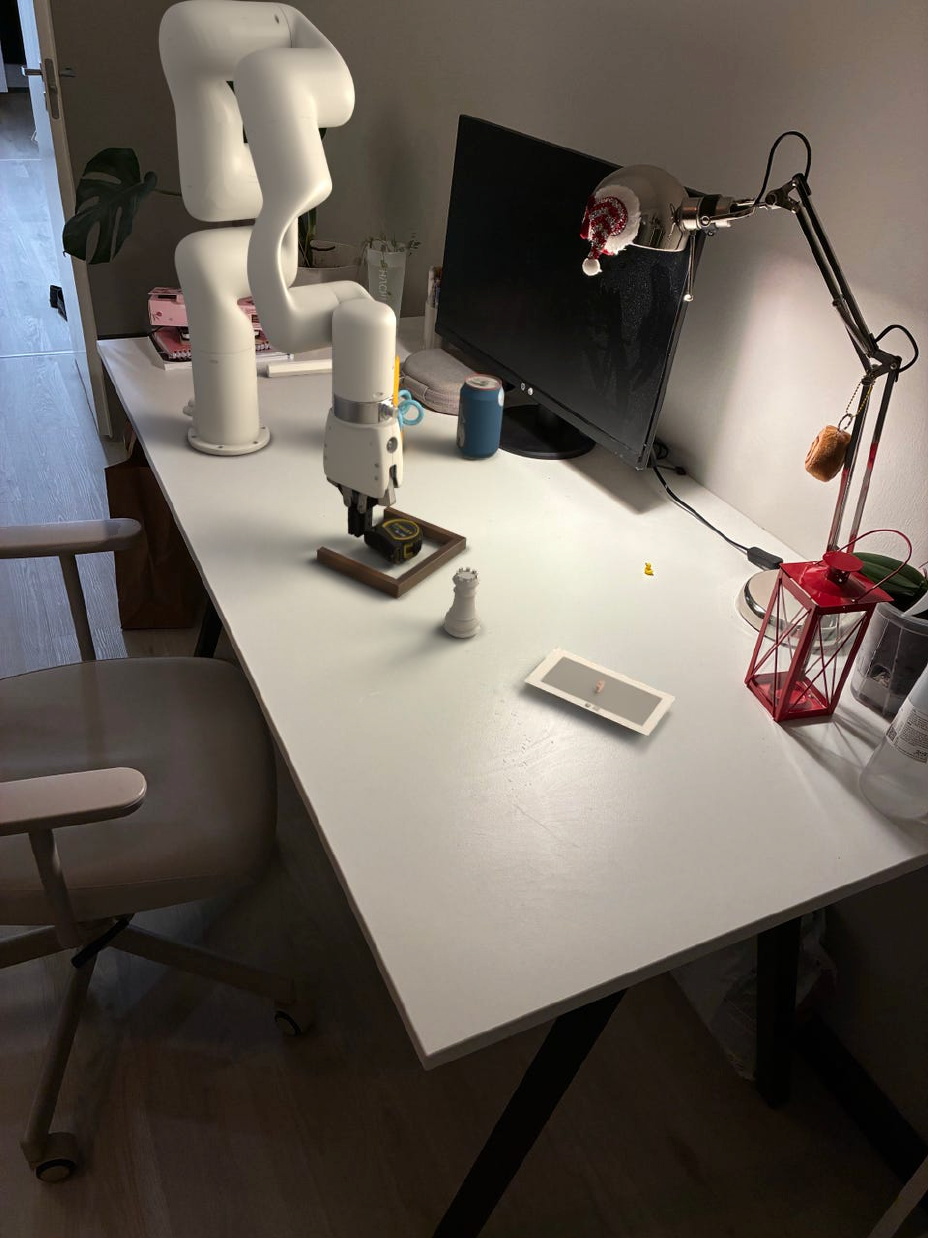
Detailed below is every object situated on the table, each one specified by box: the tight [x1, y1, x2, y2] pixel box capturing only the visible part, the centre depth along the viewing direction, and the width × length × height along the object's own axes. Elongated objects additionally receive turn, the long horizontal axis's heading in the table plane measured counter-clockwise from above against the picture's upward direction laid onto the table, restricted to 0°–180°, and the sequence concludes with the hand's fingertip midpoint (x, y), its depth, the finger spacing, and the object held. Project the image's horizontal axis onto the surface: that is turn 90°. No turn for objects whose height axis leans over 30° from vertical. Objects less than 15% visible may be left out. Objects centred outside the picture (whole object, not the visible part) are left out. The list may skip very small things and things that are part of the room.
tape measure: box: [363, 518, 424, 566], centre depth 128 cm, size 7×7×4 cm
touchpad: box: [523, 646, 677, 737], centre depth 107 cm, size 8×15×2 cm, turn 58°
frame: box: [316, 506, 467, 598], centre depth 128 cm, size 13×15×2 cm
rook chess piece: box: [443, 566, 481, 639], centre depth 114 cm, size 4×4×8 cm
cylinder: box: [393, 353, 425, 447], centre depth 150 cm, size 12×10×15 cm
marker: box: [266, 358, 332, 378], centre depth 177 cm, size 3×2×16 cm
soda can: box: [455, 373, 505, 461], centre depth 153 cm, size 7×7×12 cm
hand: (359, 531), depth 130 cm, fingers closed
